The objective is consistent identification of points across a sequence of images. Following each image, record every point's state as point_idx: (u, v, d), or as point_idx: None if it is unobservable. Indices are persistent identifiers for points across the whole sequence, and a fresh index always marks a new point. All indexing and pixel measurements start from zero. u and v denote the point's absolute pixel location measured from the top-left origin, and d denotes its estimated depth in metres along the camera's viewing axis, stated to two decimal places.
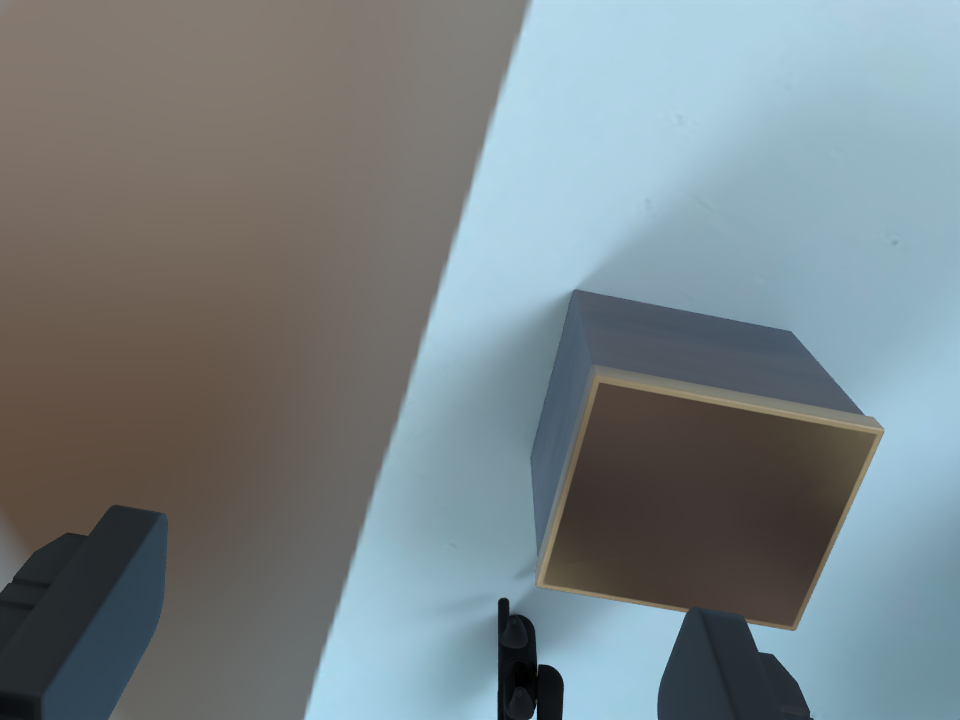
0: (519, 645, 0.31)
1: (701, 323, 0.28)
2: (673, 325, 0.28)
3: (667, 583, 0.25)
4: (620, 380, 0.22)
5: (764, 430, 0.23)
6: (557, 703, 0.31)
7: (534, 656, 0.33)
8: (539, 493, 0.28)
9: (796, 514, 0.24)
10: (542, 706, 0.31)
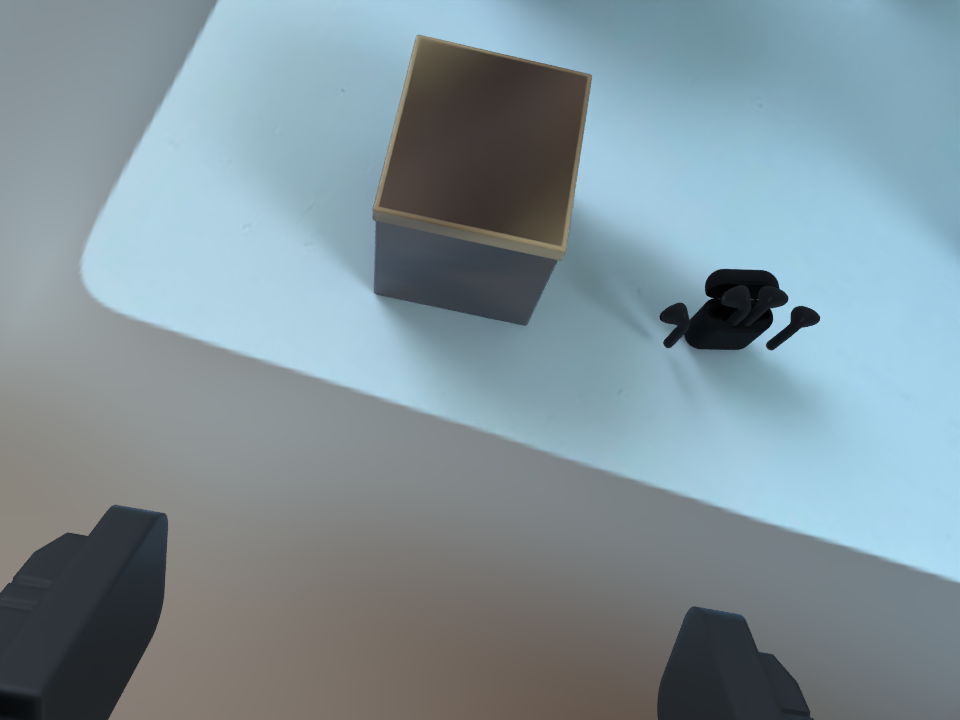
0: (681, 306, 0.35)
1: None
2: None
3: (554, 159, 0.32)
4: (377, 193, 0.30)
5: (418, 103, 0.32)
6: (734, 270, 0.35)
7: None
8: (523, 287, 0.34)
9: (487, 80, 0.33)
10: (736, 281, 0.35)
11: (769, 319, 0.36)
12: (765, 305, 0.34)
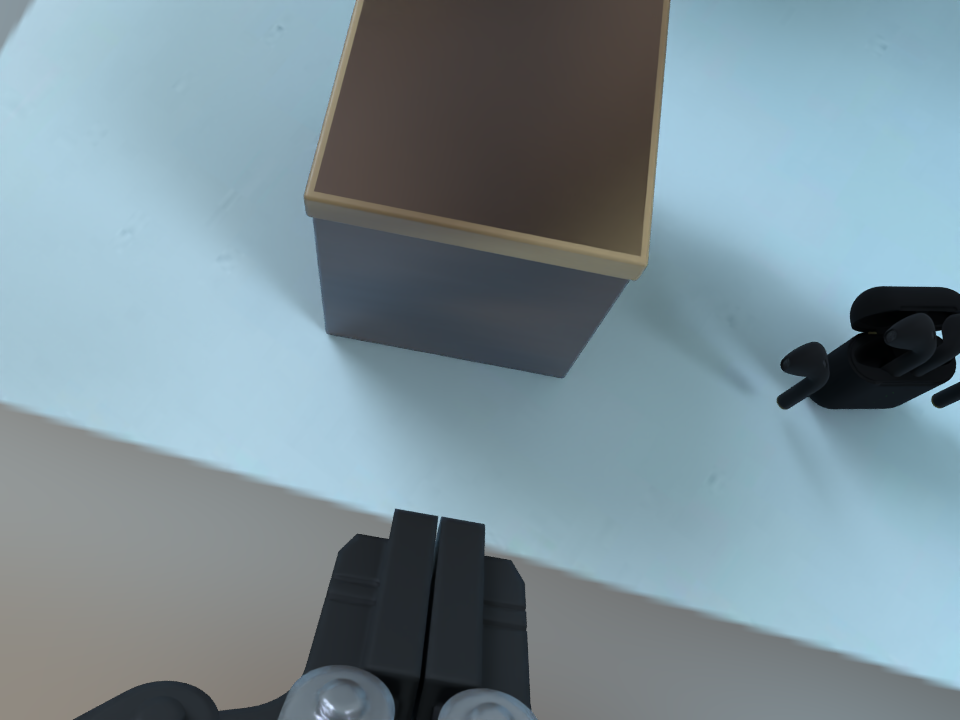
0: (818, 348, 0.21)
1: None
2: None
3: (619, 106, 0.19)
4: (311, 167, 0.17)
5: (383, 15, 0.19)
6: (900, 289, 0.22)
7: (847, 341, 0.23)
8: (564, 323, 0.21)
9: None
10: (907, 305, 0.21)
11: (951, 364, 0.23)
12: None
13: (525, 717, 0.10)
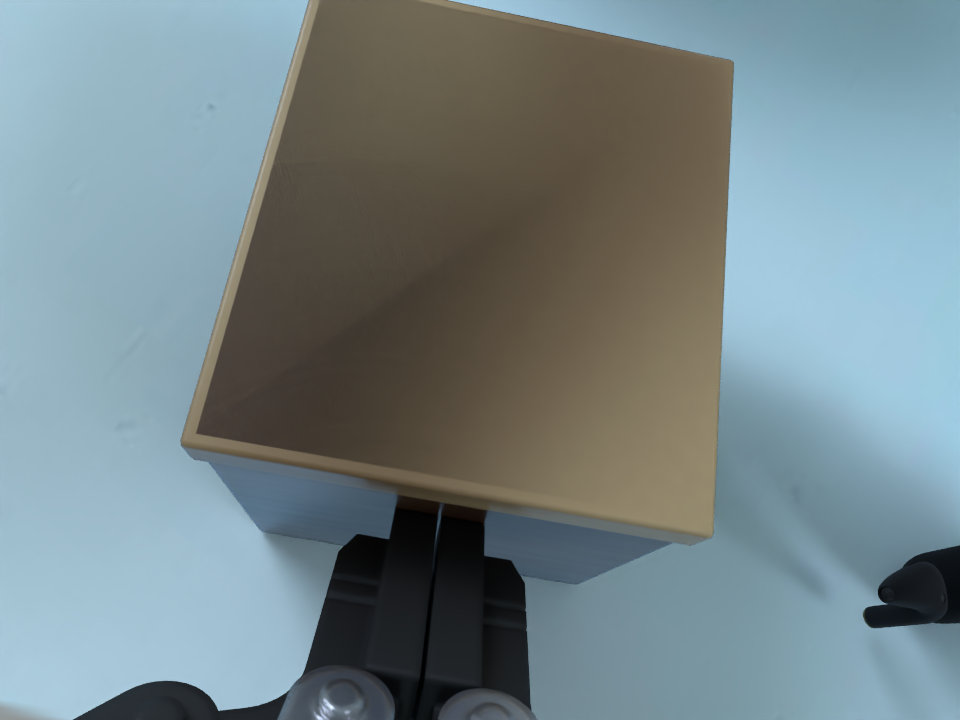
0: (934, 577, 0.15)
1: None
2: None
3: (663, 273, 0.13)
4: (194, 392, 0.11)
5: (315, 139, 0.13)
6: None
7: None
8: (581, 556, 0.15)
9: (488, 78, 0.13)
10: None
11: None
12: None
13: (525, 717, 0.10)
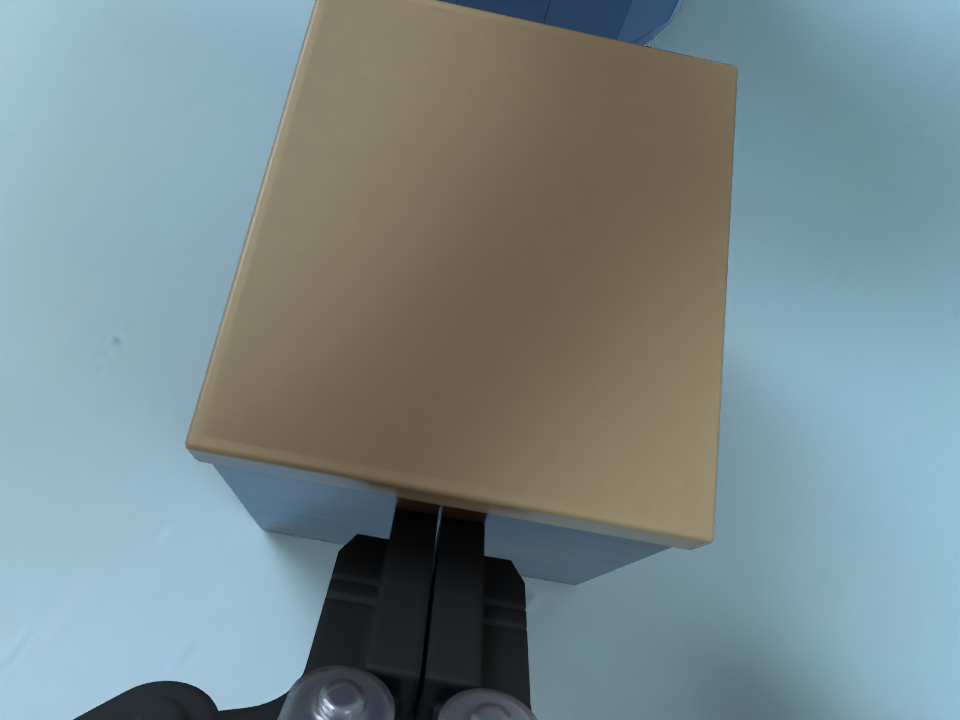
0: None
1: None
2: None
3: (666, 279, 0.13)
4: (199, 395, 0.11)
5: (320, 142, 0.13)
6: None
7: None
8: (581, 558, 0.15)
9: (493, 82, 0.13)
10: None
11: None
12: None
13: (525, 717, 0.10)
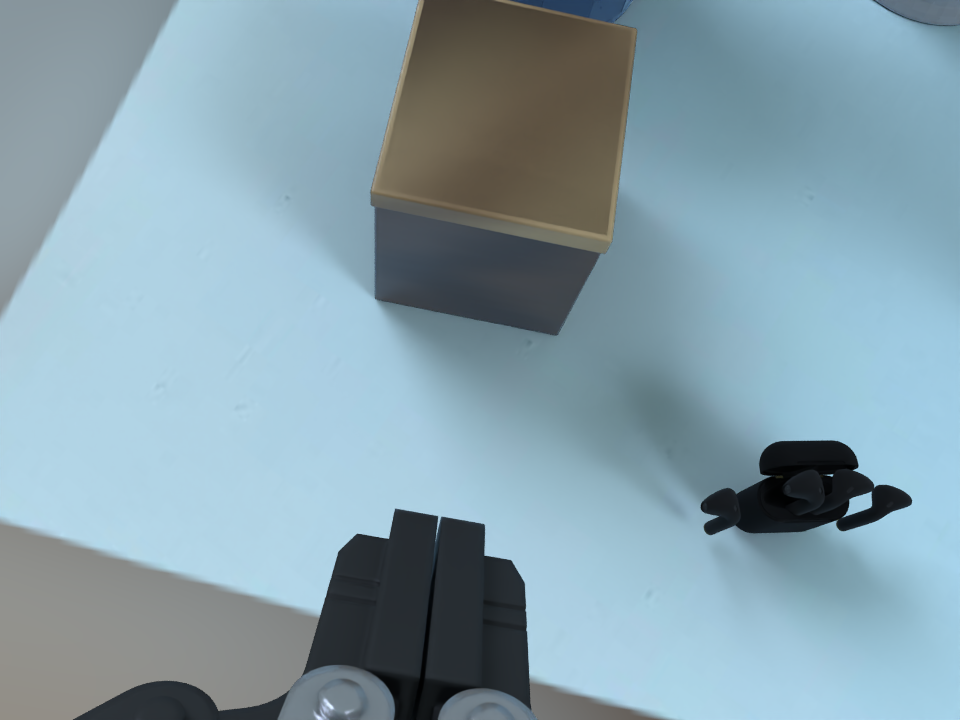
0: (729, 496, 0.26)
1: None
2: None
3: (594, 129, 0.26)
4: (376, 171, 0.24)
5: (425, 62, 0.26)
6: (798, 445, 0.26)
7: (759, 482, 0.28)
8: (555, 289, 0.28)
9: (510, 35, 0.27)
10: (802, 461, 0.26)
11: (844, 503, 0.27)
12: (844, 497, 0.25)
13: (525, 717, 0.10)
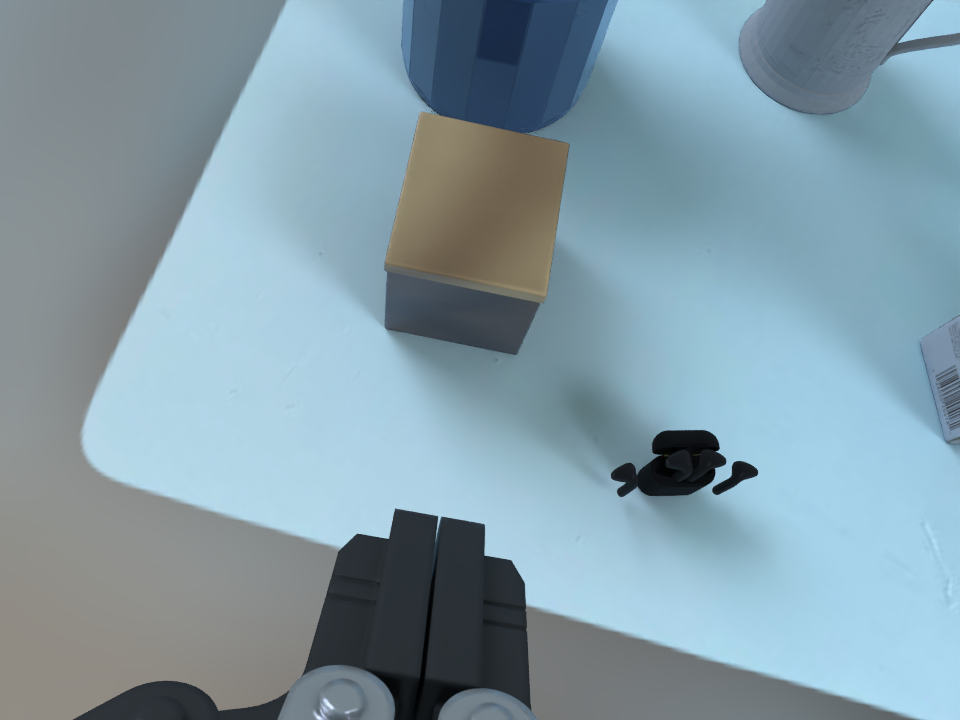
0: (629, 467, 0.38)
1: None
2: None
3: (537, 217, 0.38)
4: (388, 248, 0.36)
5: (421, 171, 0.38)
6: (677, 433, 0.38)
7: None
8: (512, 324, 0.40)
9: (480, 149, 0.39)
10: (679, 444, 0.38)
11: (711, 474, 0.39)
12: (705, 468, 0.37)
13: (525, 717, 0.10)
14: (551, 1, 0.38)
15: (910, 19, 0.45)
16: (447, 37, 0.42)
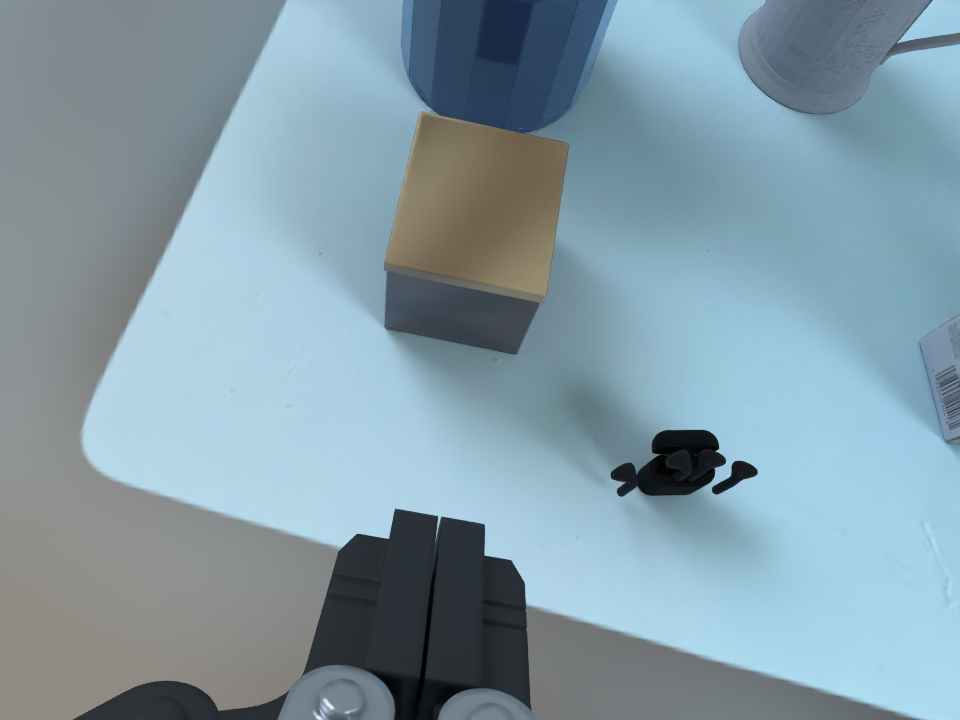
0: (629, 467, 0.38)
1: None
2: None
3: (536, 217, 0.38)
4: (388, 248, 0.36)
5: (421, 170, 0.38)
6: (677, 433, 0.38)
7: None
8: (512, 323, 0.40)
9: (479, 149, 0.39)
10: (679, 444, 0.38)
11: (711, 473, 0.39)
12: (704, 468, 0.37)
13: (525, 717, 0.10)
14: (551, 1, 0.38)
15: (910, 19, 0.45)
16: (447, 36, 0.42)
